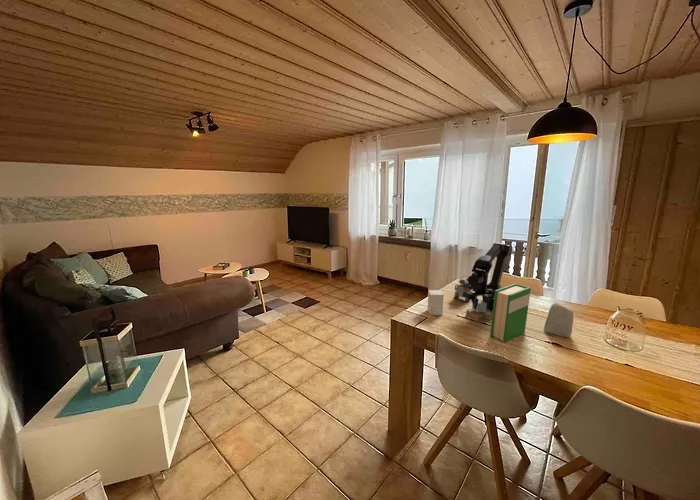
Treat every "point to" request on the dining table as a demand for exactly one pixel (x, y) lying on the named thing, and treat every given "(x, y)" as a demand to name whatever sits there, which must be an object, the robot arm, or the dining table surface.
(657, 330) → the dining table surface
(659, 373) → the dining table surface
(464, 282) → the figurine
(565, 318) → the decorative stone
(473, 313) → the walnut block
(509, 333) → the hardback book
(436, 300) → the supplement box
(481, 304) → the slate cube
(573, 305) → the dining table surface
